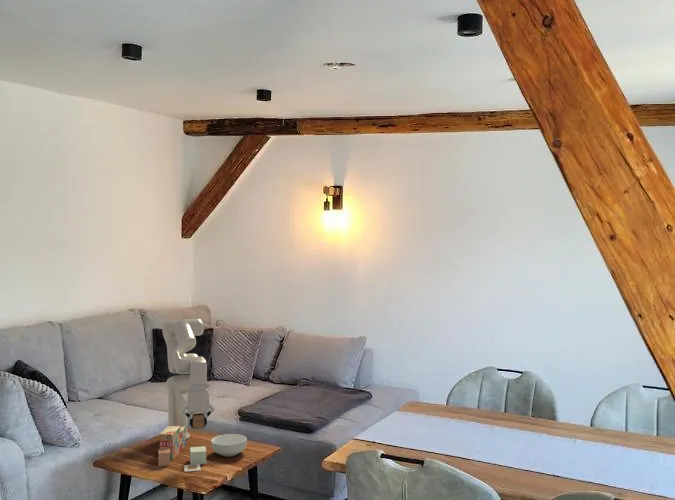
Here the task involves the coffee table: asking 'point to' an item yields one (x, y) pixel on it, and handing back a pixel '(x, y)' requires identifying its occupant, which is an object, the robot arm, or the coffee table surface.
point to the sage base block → (197, 455)
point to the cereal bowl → (229, 444)
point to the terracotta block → (164, 457)
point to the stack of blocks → (173, 439)
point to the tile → (192, 468)
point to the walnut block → (198, 420)
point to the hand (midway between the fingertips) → (198, 426)
